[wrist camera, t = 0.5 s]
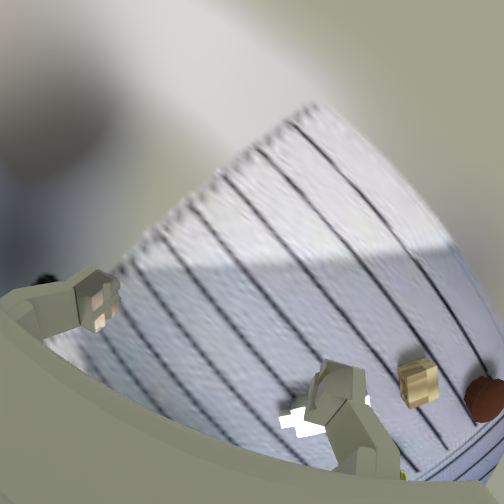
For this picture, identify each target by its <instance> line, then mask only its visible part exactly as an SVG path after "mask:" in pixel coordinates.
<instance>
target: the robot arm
mask: <svg viewBox="0 0 504 504" xmlns="http://www.w3.org/2000/svg"><path fill="white" fill-rule="evenodd" d="M119 289H120V281H119V280H118V279H117V278H115V277H113V276H111V275H109V274H107V273H105V272H103V271H101V270H98V269H96V268H94V267H92V266H86V267H85V268H83V269H82V270H81V271H79V272H78V273H76V274H75V275H73V276H72V277H70V278H69V279H68V280H66V281H65V282H61V281H59V282H53V283H48V284H42V285H36V286H30V287H25V288H19V289H14V290H12V291H11V292H9V293H8V294H6V295H5V296H4V297H2V298H1V299H0V504H499V502H498V501H497V500H496V498H495V497H494V496H493V494H492V493H491V492H490V491H489V489H488V488H487V487H486V486H485V485H484V484H483V483H482V482H480V481H478V480H467V481H408V480H400V451H399V450H398V448H397V446H396V445H395V443H394V442H393V440H392V439H391V437H390V436H389V434H388V433H387V431H386V429H385V428H384V426H383V425H382V423H381V422H380V420H379V419H378V417H377V416H376V414H375V413H374V411H373V410H372V408H371V407H370V405H369V404H366V390H365V370H364V369H361V368H357V367H354V366H349V365H346V364H342V363H339V362H335V361H332V360H328V359H325V360H324V361H323V362H322V364H321V366H320V372H318V373H316V374H315V376H314V378H313V380H312V382H311V384H310V387H309V391H308V395H307V397H308V399H309V402H308V403H307V405H306V406H305V411H304V417H303V421H306V422H309V423H312V424H316V425H319V426H323V427H324V429H325V431H326V434H327V436H328V439H329V441H330V444H331V446H332V449H333V451H334V454H335V456H336V459H337V461H338V464H339V465H338V466H337V467H336V468H334V469H333V470H332V471H328V470H323V469H318V468H313V467H309V466H304V465H300V464H296V463H292V462H288V461H284V460H280V459H277V458H273V457H270V456H266V455H263V454H260V453H256V452H253V451H250V450H247V449H244V448H241V447H238V446H235V445H232V444H229V443H226V442H224V441H221V440H218V439H216V438H213V437H210V436H208V435H205V434H203V433H200V432H198V431H195V430H193V429H191V428H188V427H186V426H184V425H181V424H179V423H177V422H175V421H172V420H170V419H168V418H166V417H164V416H162V415H160V414H158V413H156V412H153V411H151V410H149V409H147V408H145V407H143V406H142V405H140V404H138V403H136V402H134V401H132V400H130V399H128V398H126V397H125V396H123V395H121V394H119V393H118V392H116V391H114V390H112V389H111V388H109V387H107V386H105V385H104V384H102V383H100V382H99V381H97V380H96V379H94V378H92V377H91V376H89V375H88V374H86V373H84V372H83V371H81V370H80V369H78V368H77V367H75V366H74V365H72V364H71V363H69V362H68V361H66V360H65V359H63V358H62V357H61V356H59V355H58V354H56V353H55V352H54V351H52V350H51V349H49V348H48V347H47V346H45V345H44V343H43V339H45V338H48V337H51V336H54V335H57V334H60V333H62V332H65V331H68V330H71V329H74V328H76V327H79V326H80V325H81V326H82V327H84V328H86V329H88V330H90V331H91V332H93V333H95V334H96V333H97V332H98V331H99V330H100V329H101V328H102V327H103V326H105V325H106V320H107V319H111V318H113V317H114V316H115V315H116V313H117V311H118V310H119V308H120V303H121V297H120V295H119V294H118V292H117V291H118V290H119Z"/></svg>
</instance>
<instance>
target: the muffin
mask: <svg viewBox="0 0 504 504" xmlns="http://www.w3.org/2000/svg"><path fill="white" fill-rule="evenodd" d="M464 401H465V402H466V406H467V408H468V409H469V411H470V413H471V415H472V417H473V419H474V420H475V422H479V423H485V422H488V421H491V420H493V419H494V418H495V417H497V416H498V415H499V414H500V412H501V411H502V409H503V408H504V381H503V380H501V379H495V380H494V379H490V378H486V377H483V376H481V377H480V378H478V379H476V380H474V381H473V382H472V383H471V385H470V386H469V387H468V388H467V390H466V395H465V398H464Z"/></svg>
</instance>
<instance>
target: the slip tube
mask: <svg viewBox="0 0 504 504" xmlns="http://www.w3.org/2000/svg"><path fill="white" fill-rule="evenodd" d="M366 404H369V405H370V400H369V395H368V393H367V391H366ZM279 419H280V423H281V426H282V428H286V427H292V426H295V425H294V421H293V417H292V414H291V409H286V410H281V411H280V413H279Z"/></svg>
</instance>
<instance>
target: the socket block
mask: <svg viewBox="0 0 504 504" xmlns="http://www.w3.org/2000/svg"><path fill="white" fill-rule="evenodd" d="M398 374H399V382H400V391H401V398H402V399H403V401H404V402H405V403H406V405H407V406H408V408H409V409H412V408H415V407H418V406H420V405H423V404H425V403H428V402H430V401H433V400H435V399H438V398H439V390H438V373H437V365H435V364H434V363H433V362H432V361H430V360H429V359H428V358H426V357H424V358H421V359H419V360H416V361H413V362H411V363H408V364H405V365H402V366H400V367H398Z"/></svg>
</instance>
